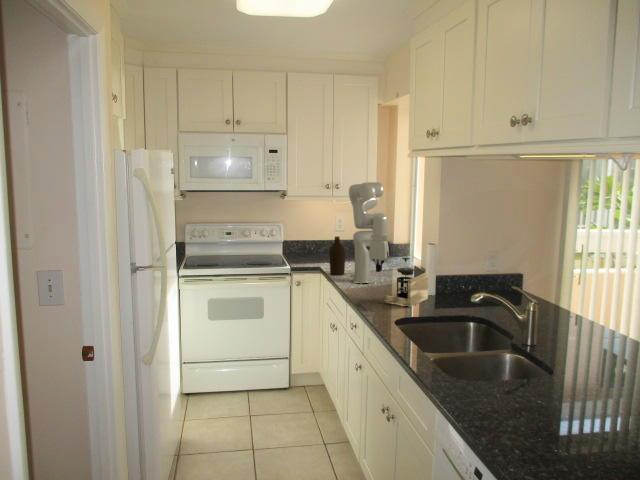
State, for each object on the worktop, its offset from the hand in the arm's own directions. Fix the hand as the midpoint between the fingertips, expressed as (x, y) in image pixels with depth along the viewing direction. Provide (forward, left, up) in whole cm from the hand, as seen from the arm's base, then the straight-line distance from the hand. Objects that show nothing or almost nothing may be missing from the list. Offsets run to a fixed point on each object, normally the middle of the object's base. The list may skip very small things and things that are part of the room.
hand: (378, 271), depth 265 cm
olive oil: (-50, +33, -14) cm, 62 cm away
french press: (+17, -1, -14) cm, 22 cm away
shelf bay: (+17, -1, -14) cm, 22 cm away
